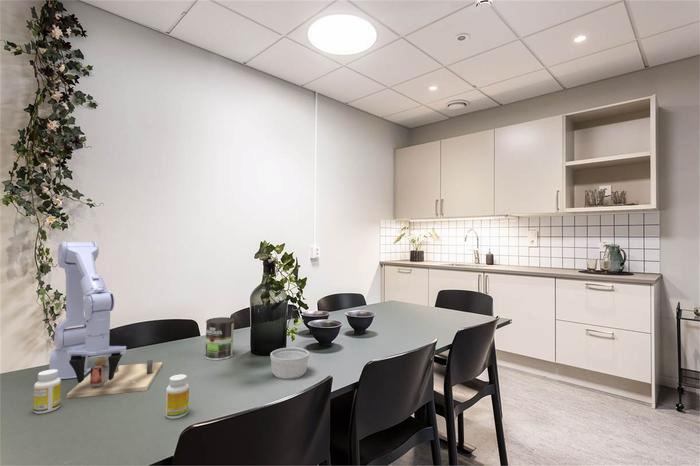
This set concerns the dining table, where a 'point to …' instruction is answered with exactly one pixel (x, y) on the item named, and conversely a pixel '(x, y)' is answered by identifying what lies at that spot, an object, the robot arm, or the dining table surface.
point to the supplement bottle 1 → (47, 392)
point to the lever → (99, 375)
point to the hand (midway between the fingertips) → (96, 380)
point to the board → (119, 380)
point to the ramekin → (289, 362)
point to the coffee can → (219, 338)
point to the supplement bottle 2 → (177, 397)
